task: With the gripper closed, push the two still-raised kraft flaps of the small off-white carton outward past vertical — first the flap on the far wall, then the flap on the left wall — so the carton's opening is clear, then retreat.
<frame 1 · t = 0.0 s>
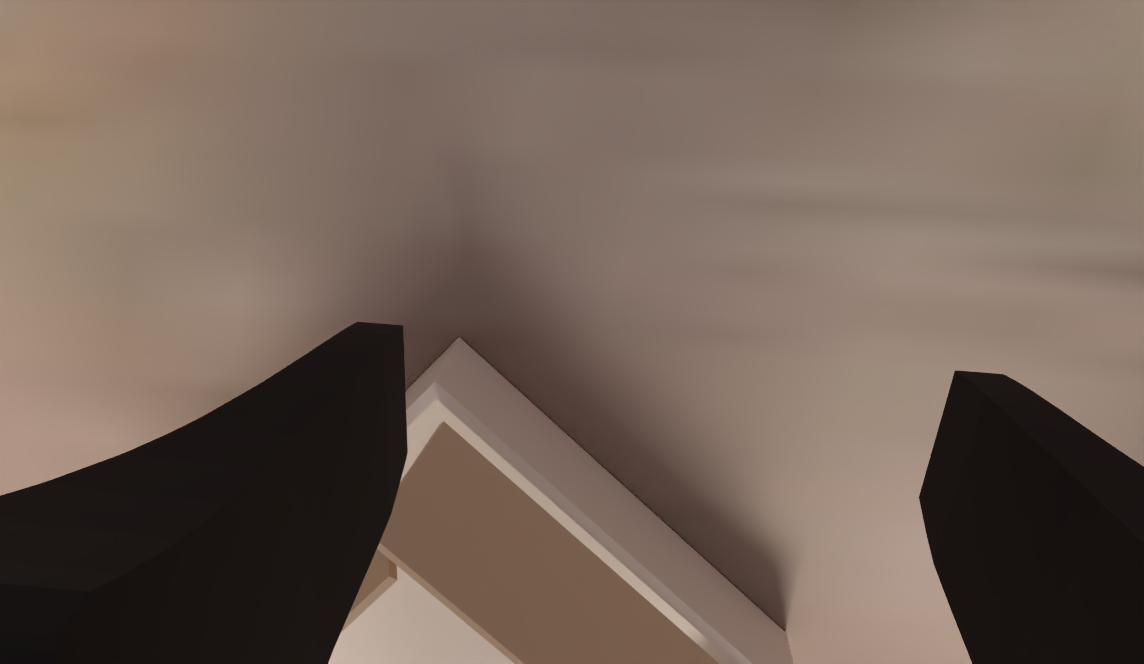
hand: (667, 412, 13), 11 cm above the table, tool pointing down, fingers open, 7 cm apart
carton: (452, 646, 27), on the table
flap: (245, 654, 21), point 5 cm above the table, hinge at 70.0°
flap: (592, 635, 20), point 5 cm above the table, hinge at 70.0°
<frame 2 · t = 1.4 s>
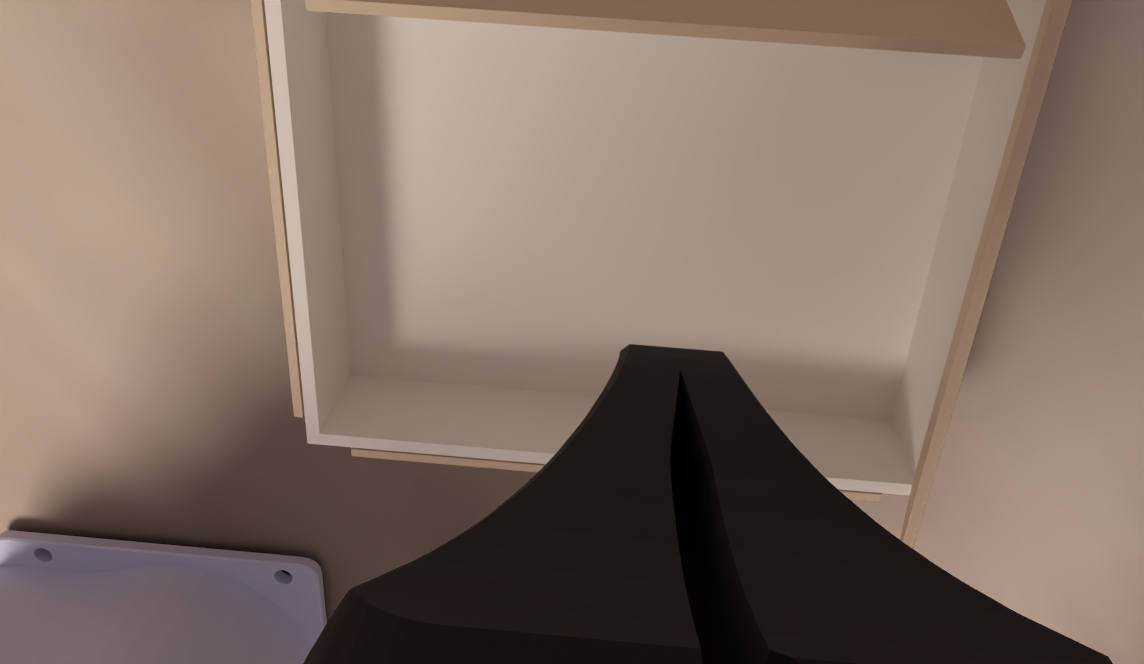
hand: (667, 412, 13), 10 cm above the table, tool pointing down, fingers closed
carton: (638, 171, 21), on the table
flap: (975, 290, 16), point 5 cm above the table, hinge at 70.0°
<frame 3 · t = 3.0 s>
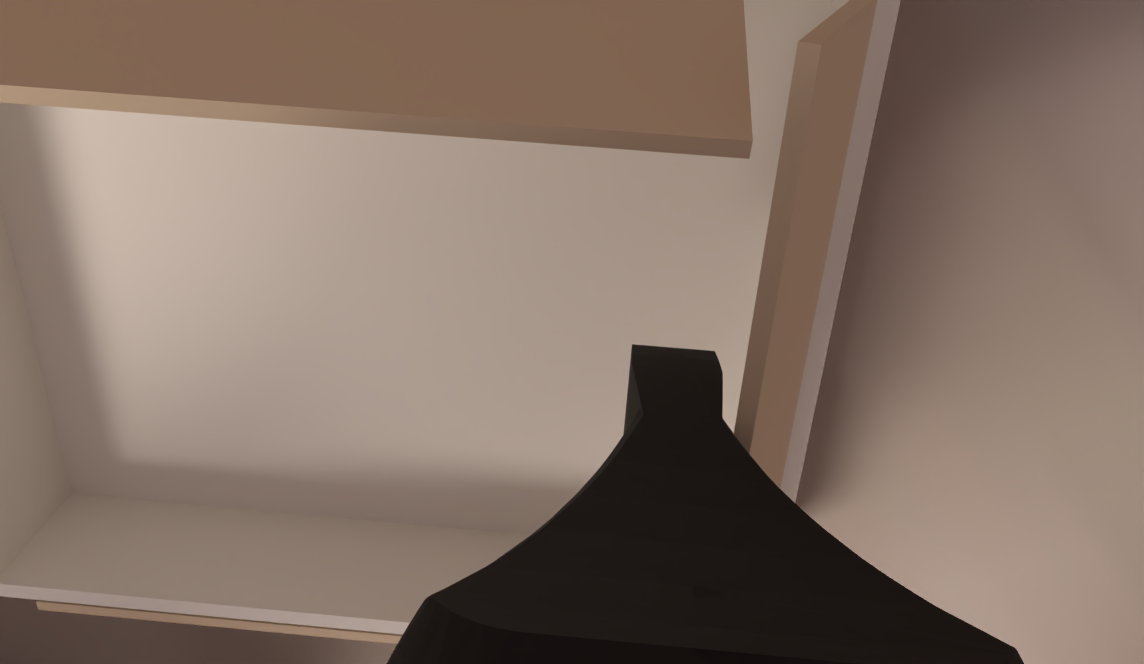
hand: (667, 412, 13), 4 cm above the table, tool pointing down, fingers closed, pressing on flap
carton: (393, 253, 17), on the table
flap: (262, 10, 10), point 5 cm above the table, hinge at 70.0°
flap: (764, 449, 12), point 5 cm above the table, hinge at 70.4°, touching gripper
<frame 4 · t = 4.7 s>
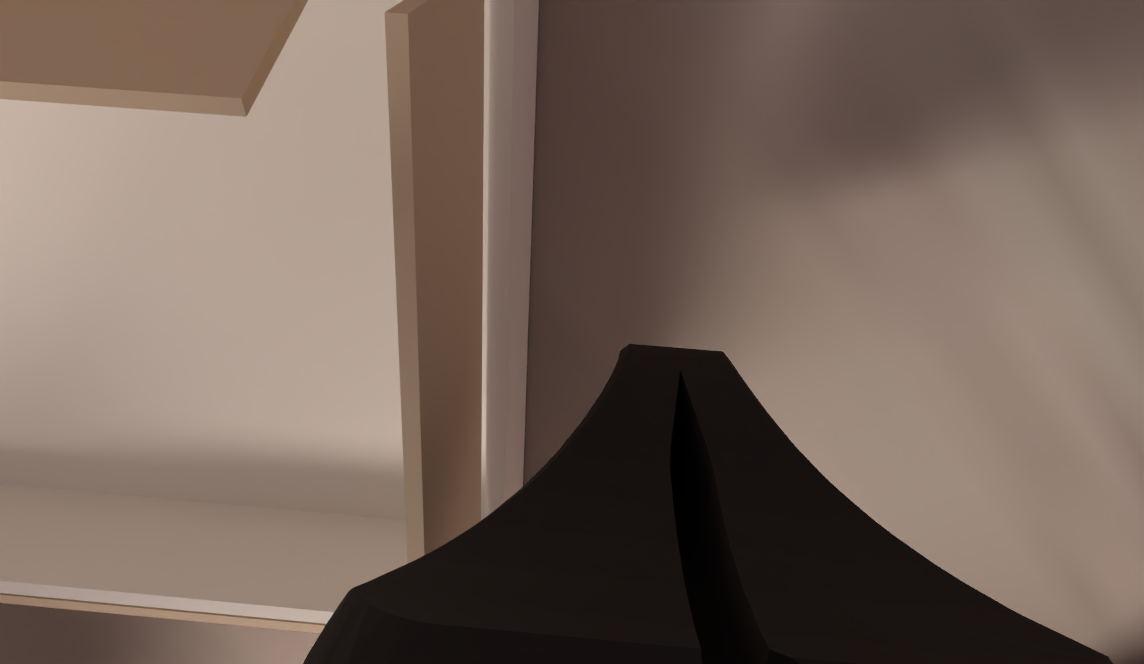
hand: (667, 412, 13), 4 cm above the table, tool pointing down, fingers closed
carton: (137, 229, 17), on the table
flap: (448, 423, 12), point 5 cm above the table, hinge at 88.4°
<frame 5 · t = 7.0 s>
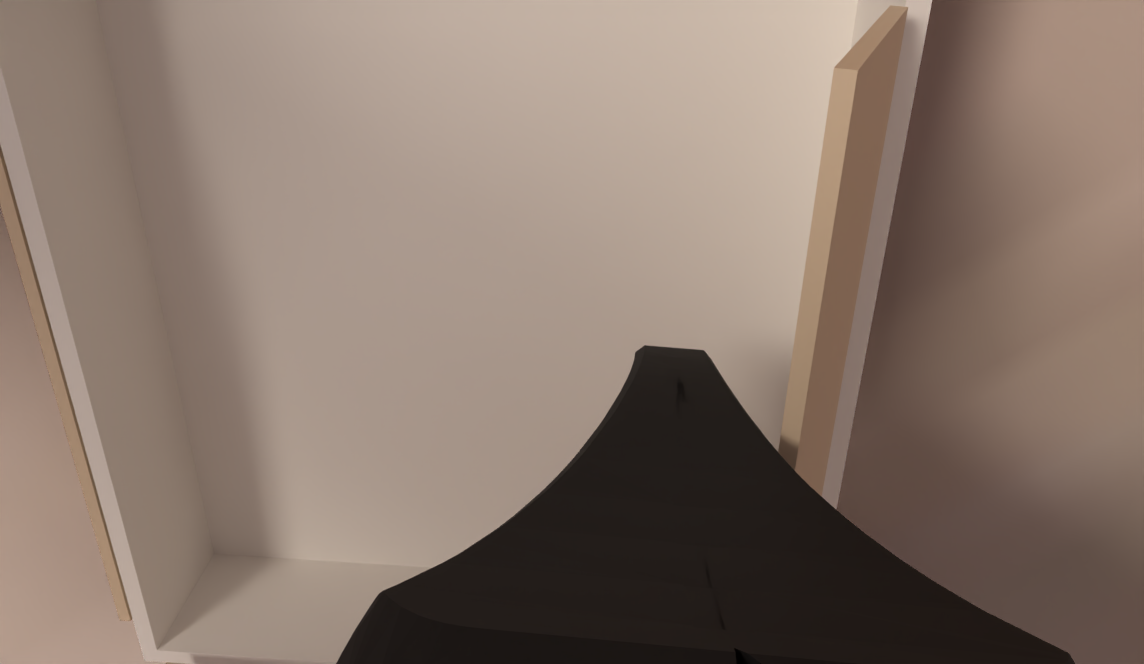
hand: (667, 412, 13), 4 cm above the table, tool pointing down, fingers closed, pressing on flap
carton: (479, 262, 17), on the table
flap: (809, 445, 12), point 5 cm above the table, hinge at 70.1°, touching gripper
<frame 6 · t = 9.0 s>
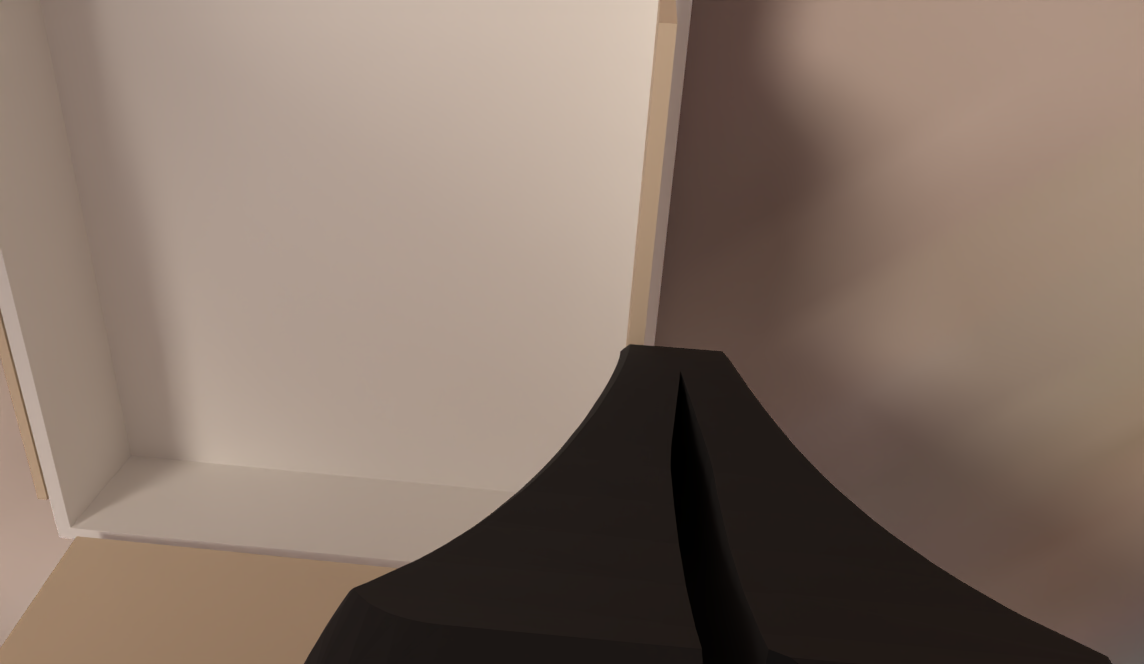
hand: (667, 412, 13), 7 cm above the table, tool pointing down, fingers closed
carton: (362, 197, 19), on the table
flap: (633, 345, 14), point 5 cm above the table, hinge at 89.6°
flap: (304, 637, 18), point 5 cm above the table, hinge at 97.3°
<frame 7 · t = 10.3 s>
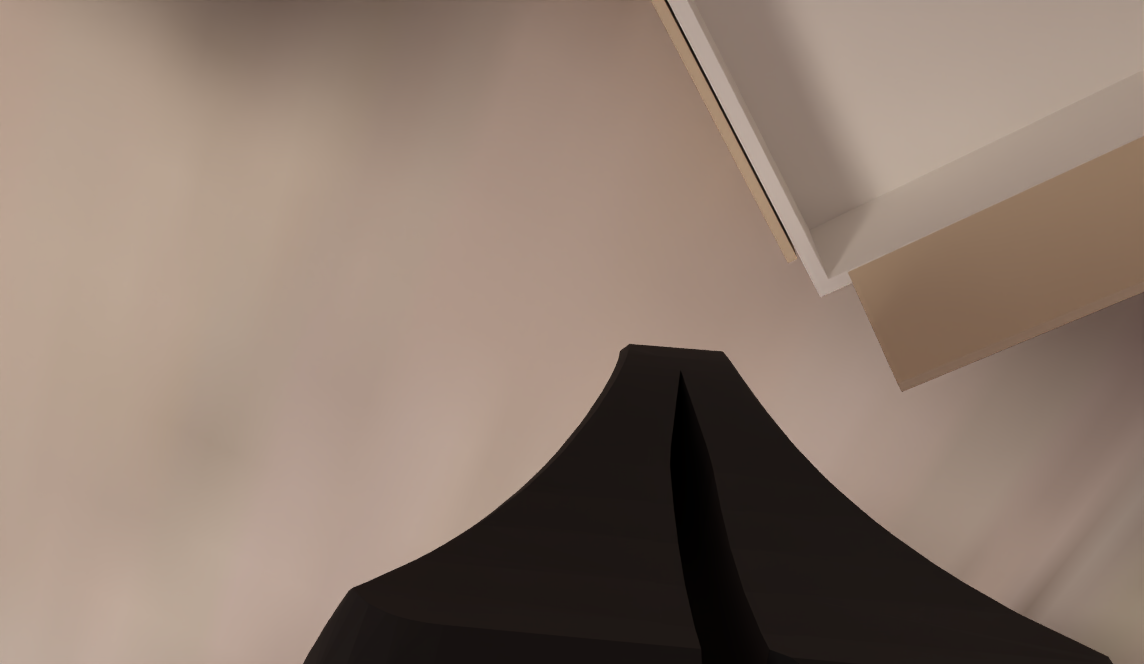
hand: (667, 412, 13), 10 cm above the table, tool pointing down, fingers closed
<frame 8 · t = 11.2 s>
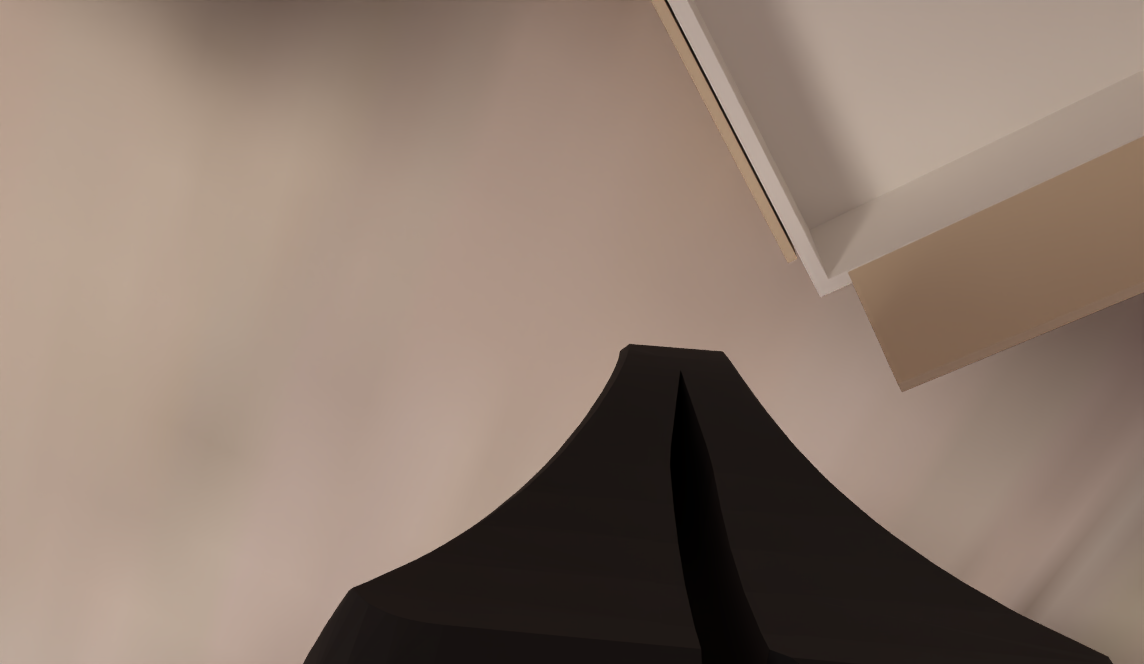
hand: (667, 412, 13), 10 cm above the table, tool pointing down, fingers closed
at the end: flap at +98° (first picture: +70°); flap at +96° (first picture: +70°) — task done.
